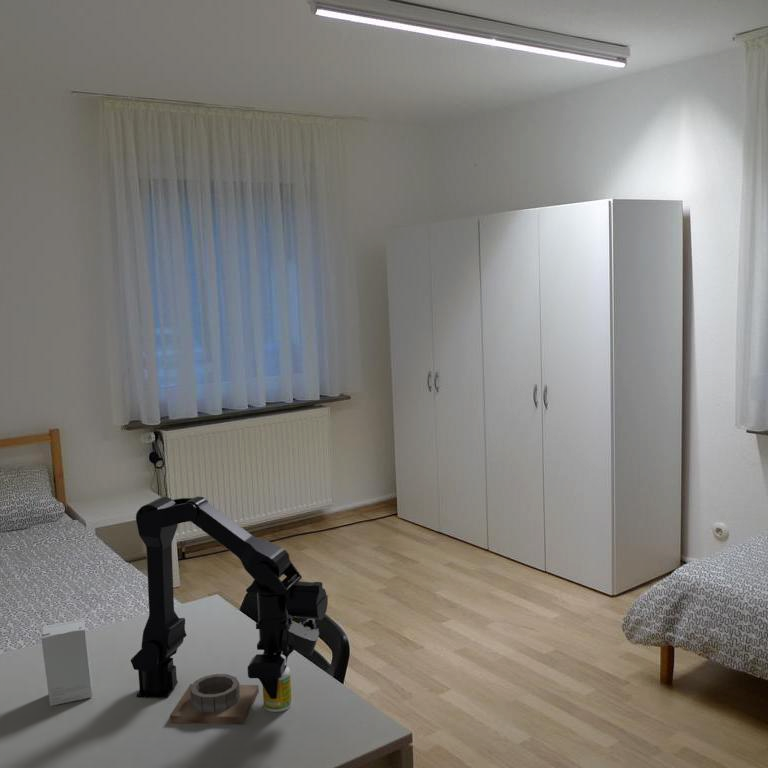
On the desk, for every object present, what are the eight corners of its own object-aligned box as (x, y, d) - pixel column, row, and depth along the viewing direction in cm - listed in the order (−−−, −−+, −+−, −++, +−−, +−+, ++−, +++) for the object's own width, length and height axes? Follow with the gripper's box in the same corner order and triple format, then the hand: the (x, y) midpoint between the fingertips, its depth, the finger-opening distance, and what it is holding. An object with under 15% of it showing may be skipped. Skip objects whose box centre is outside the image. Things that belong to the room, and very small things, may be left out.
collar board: (170, 722, 152) (168, 700, 152) (190, 690, 164) (189, 669, 164) (243, 724, 151) (241, 701, 151) (258, 692, 163) (257, 670, 162)
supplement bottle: (286, 714, 154) (284, 665, 153) (259, 711, 155) (257, 663, 154) (295, 699, 160) (293, 652, 158) (269, 697, 161) (266, 651, 159)
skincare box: (92, 685, 168) (86, 617, 166) (92, 699, 162) (86, 628, 160) (48, 693, 165) (42, 624, 163) (47, 707, 159) (41, 636, 157)
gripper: (305, 635, 145) (309, 717, 147) (322, 595, 164) (325, 668, 166) (244, 635, 146) (249, 716, 148) (268, 595, 165) (272, 667, 167)
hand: (277, 690), depth 157 cm, fingers closed on supplement bottle, 5 cm apart
